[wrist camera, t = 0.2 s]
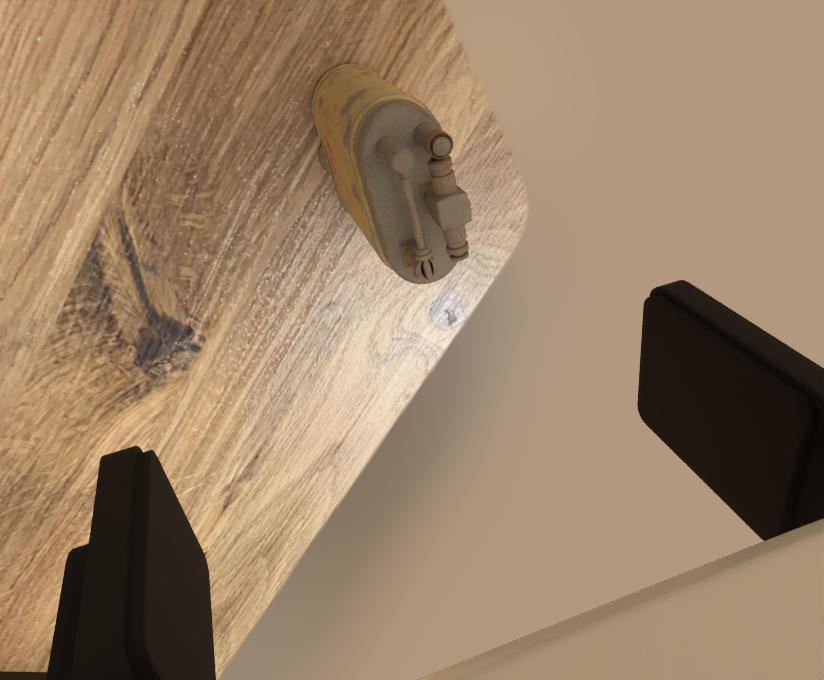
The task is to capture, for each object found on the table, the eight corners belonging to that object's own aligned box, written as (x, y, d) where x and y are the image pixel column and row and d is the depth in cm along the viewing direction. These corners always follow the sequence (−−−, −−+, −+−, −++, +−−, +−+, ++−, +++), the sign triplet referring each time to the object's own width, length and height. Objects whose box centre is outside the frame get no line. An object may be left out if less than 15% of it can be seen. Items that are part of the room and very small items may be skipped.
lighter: (414, 204, 32) (498, 292, 24) (340, 230, 31) (401, 328, 23) (377, 52, 28) (463, 94, 20) (293, 78, 27) (345, 133, 19)
